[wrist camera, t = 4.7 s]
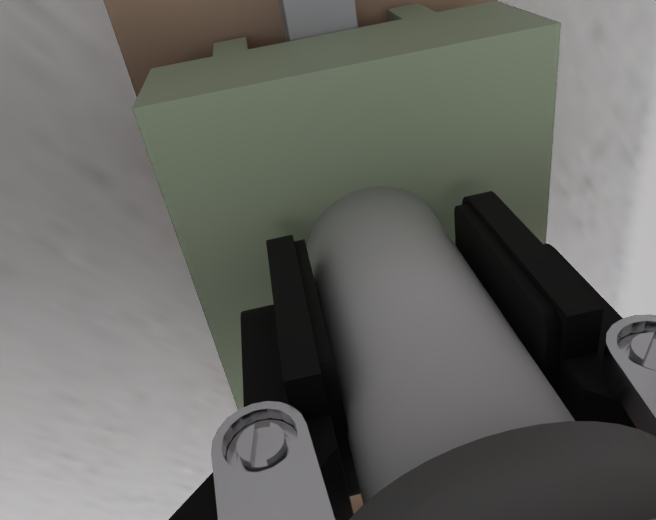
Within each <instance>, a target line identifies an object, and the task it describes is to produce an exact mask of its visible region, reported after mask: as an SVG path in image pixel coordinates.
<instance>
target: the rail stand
mask: <svg viewBox="0 0 656 520" xmlns="http://www.w3.org/2000/svg"><path fill="white" fill-rule="evenodd" d="M491 1H497V0H104V3H105V6H106V9H107V12H108V14H109V17H110V20H111V23H112V26H113V29H114V32H115V35H116V38H117V41H118V44H119V46H120V49H121V52H122V55H123V58H124V61H125V64H126V67H127V70H128V73H129V76H130V78H131V81H132V84H133V87H134V90H135V93H136V96H137V97H138V95H139V93H140V91H141V89H142V86H143V84H144V82H145V80H146V78H147V76H148V74H149V71H150V69H151V68H156V67H162V66H167V65H172V64H177V63H182V62H187V61H192V60H197V59H202V58H207V57H212V56H213V47H214V43H217V42H222V41H227V40H232V39H237V38H242V37H246V41H247V45H248V49H253V48H258V47H263V46H268V45H273V44H278V43H283V42H288V41H294V40H299V39H304V38H309V37H314V36H319V35H324V34H329V33H334V32H339V31H344V30H349V29H354V28H360V27H365V26H370V25H375V24H380V23H385V22H388V16H387V9H390V8H395V7H400V6H406V5H411V4H416V3H419V4H421V5H423V6H425V7H427V8H429V9H431V10H433V11H435V12H441V11H446V10H451V9H456V8H461V7H466V6H471V5H476V4H481V3H486V2H491ZM350 500H351V504H352V509H353V514H355V513H356V512H357V511H358V510H359V509H360V507H361V506H363V501H362V497H361V494H358V495H354V496H350Z"/></svg>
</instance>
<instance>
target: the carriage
mask: <svg viewBox="0 0 656 520" xmlns="http://www.w3.org/2000/svg"><path fill="white" fill-rule="evenodd" d="M387 16H388V22H385V23H380V24H375V25H370V26H365V27H360V28H354V29H349V30H344V31H339V32H334V33H329V34H324V35H319V36H314V37H309V38H304V39H299V40H294V41H288V42H283V43H278V44H273V45H268V46H263V47H258V48H253V49H248V45H247V41H246V37H242V38H237V39H232V40H227V41H222V42H217V43H214V47H213V56H212V57H207V58H202V59H197V60H192V61H187V62H182V63H177V64H172V65H167V66H162V67H156V68H151V69H150V71H149V74H148V76H147V78H146V80H145V82H144V84H143V86H142V89H141V91H140V93H139V95H138V97H137V99H136V101H135V103H134V106H133V108H132V110H133V113H134V116H135V118H136V121H137V124H138V127H139V130H140V133H141V135H142V138H143V141H144V144H145V147H146V150H147V152H148V155H149V158H150V161H151V164H152V167H153V169H154V172H155V175H156V178H157V181H158V184H159V186H160V189H161V192H162V195H163V198H164V201H165V203H166V206H167V209H168V212H169V215H170V218H171V221H172V223H173V226H174V229H175V232H176V235H177V238H178V240H179V243H180V246H181V249H182V252H183V255H184V257H185V260H186V263H187V266H188V269H189V272H190V274H191V277H192V280H193V283H194V286H195V289H196V291H197V294H198V297H199V300H200V303H201V306H202V308H203V311H204V314H205V317H206V320H207V323H208V325H209V328H210V331H211V334H212V337H213V340H214V343H215V345H216V348H217V351H218V354H219V357H220V360H221V362H222V365H223V368H224V371H225V374H226V377H227V379H228V382H229V385H230V388H231V391H232V394H233V396H234V399H235V402H236V405H237V408H238V410H239V409H242V408H244V401H243V374H242V347H241V319H240V318H241V312H242V311H246V310H250V309H255V308H259V307H264V306H268V305H273V304H274V303H273V295H272V286H271V278H270V270H269V262H268V254H267V245H266V240H270V239H274V238H279V237H283V236H288V235H293V239H294V241H298V240H303V239H305V243H306V247H307V252H308V256H309V260H310V264H311V268H312V273H313V277H314V281H315V285H316V289H317V293H318V298H319V302H320V306H321V310H322V314H323V319H324V323H325V327H326V331H327V335H328V339H329V344H330V348H331V352H332V356H333V360H334V365H335V369H336V374H337V378H338V383H339V388H340V392H341V397H342V402H343V407H344V411H345V416H346V421H347V426H348V430H347V432H348V441H349V445H350V449H351V454H352V458H353V462H354V467H355V471H356V475H357V480H358V484H359V488H360V493H361V497H362V501H363V506H361V507H360V509H359V510H358V511H357V512H356V513H355V514H354V515H353V516H352V517H351V518H350V519H349V520H651V519H655V518H656V436H654V435H651V434H649V433H647V432H644V431H642V430H640V429H636V428H632V427H628V426H624V425H620V424H614V423H605V422H597V421H575V420H574V418H573V417H572V415H571V414H570V412H569V411H568V409H567V408H566V407H565V405H564V404H563V402H562V401H561V399H560V398H559V396H558V395H557V393H556V392H555V390H554V389H553V387H552V386H551V385H550V383H549V382H548V380H547V379H546V377H545V376H544V374H543V373H542V371H541V370H540V368H539V367H538V366H537V364H536V363H535V361H534V360H533V358H532V357H531V355H530V354H529V352H528V351H527V349H526V348H525V346H524V345H523V344H522V342H521V341H520V339H519V338H518V336H517V335H516V333H515V332H514V330H513V329H512V327H511V326H510V325H509V323H508V322H507V320H506V319H505V317H504V316H503V314H502V313H501V311H500V310H499V308H498V307H497V305H496V304H495V303H494V301H493V300H492V298H491V297H490V295H489V294H488V292H487V291H486V289H485V288H484V286H483V285H482V283H481V282H480V281H479V279H478V278H477V276H476V275H475V273H474V272H473V270H472V269H471V267H470V266H469V264H468V263H467V262H466V260H465V259H464V257H463V256H462V254H461V253H460V251H459V250H458V248H457V247H456V245H455V222H454V209H455V207H456V206H458V205H462V201H463V198H464V197H466V196H471V195H475V194H480V193H484V192H489V191H493V192H494V193H495V194H496V195H497V196H498V197H499V198H500V199H501V200H502V201H503V202H504V203H505V204H506V205H507V207H508V208H509V209H510V210H511V211H512V212H513V213H514V214H515V215H516V216H517V217H518V218H519V219H520V220H521V221H522V222H523V223H524V224H525V226H526V227H527V228H528V229H529V230H530V231H531V232H532V233H533V234H534V235H535V236H536V237H537V238H538V239H539V240H540V241H541V242H542V244H546V229H547V215H548V200H549V186H550V171H551V157H552V143H553V128H554V114H555V99H556V85H557V70H558V56H559V41H560V27H561V23H560V22H557V21H554V20H551V19H548V18H545V17H542V16H539V15H536V14H533V13H530V12H527V11H524V10H521V9H518V8H516V7H513V6H510V5H507V4H504V3H501V2H498V1H491V2H486V3H481V4H476V5H471V6H466V7H461V8H456V9H451V10H446V11H441V12H435V11H433V10H431V9H429V8H427V7H425V6H423V5H421V4H419V3H416V4H411V5H406V6H400V7H395V8H390V9H387Z"/></svg>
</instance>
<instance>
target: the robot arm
mask: <svg viewBox="0 0 656 520" xmlns="http://www.w3.org/2000/svg"><path fill="white" fill-rule="evenodd" d="M454 222H455V245H456V247H457V248H458V250H459V251H460V253H461V254H462V256H463V257H464V259H465V260H466V262H467V263H468V264H469V266H470V267H471V269H472V270H473V272H474V273H475V275H476V276H477V278H478V279H479V281H480V282H481V283H482V285H483V286H484V288H485V289H486V291H487V292H488V294H489V295H490V297H491V298H492V300H493V301H494V303H495V304H496V305H497V307H498V308H499V310H500V311H501V313H502V314H503V316H504V317H505V319H506V320H507V322H508V323H509V325H510V326H511V327H512V329H513V330H514V332H515V333H516V335H517V336H518V338H519V339H520V341H521V342H522V344H523V345H524V346H525V348H526V349H527V351H528V352H529V354H530V355H531V357H532V358H533V360H534V361H535V363H536V364H537V366H538V367H539V368H540V370H541V371H542V373H543V374H544V376H545V377H546V379H547V380H548V382H549V383H550V385H551V386H552V387H553V389H554V390H555V392H556V393H557V395H558V396H559V398H560V399H561V401H562V402H563V404H564V405H565V407H566V408H567V409H568V411H569V412H570V414H571V415H572V417H573V418H574V420H575V421H597V422H605V423H614V424H620V425H624V426H628V427H632V428H636V429H640V430H642V431H644V432H647V433H649V434H651V435H654V436H656V316H655V315H634V316H631V317H627V318H622V317H621V316H620V315H619V314H618V313H617V312H616V311H615V310H614V309H613V308H612V307H611V306H610V305H609V304H608V303H607V302H606V301H605V300H604V299H603V298H602V297H601V296H600V295H599V294H598V292H597V291H596V290H595V289H594V288H593V287H592V286H591V285H590V284H589V283H588V282H587V281H586V280H585V279H584V278H583V277H582V276H581V275H580V274H579V273H578V272H577V271H576V270H575V269H574V268H573V267H572V266H571V265H570V264H569V263H568V261H567V260H566V259H565V258H564V257H563V256H562V255H561V254H560V253H559V252H558V251H557V250H556V249H555V248H554V247H552V246H551V245H550V244H542V242H541V241H540V240H539V239H538V238H537V237H536V236H535V235H534V234H533V233H532V232H531V231H530V230H529V229H528V228H527V227H526V226H525V224H524V223H523V222H522V221H521V220H520V219H519V218H518V217H517V216H516V215H515V214H514V213H513V212H512V211H511V210H510V209H509V208H508V207H507V205H506V204H505V203H504V202H503V201H502V200H501V199H500V198H499V197H498V196H497V195H496V194H495V193H494V192H493V191H489V192H484V193H480V194H475V195H471V196H466V197H464V198H463V201H462V205H458V206H456V207H455V209H454ZM266 245H267V254H268V262H269V270H270V278H271V286H272V295H273V303H274V304H273V305H268V306H264V307H259V308H255V309H250V310H246V311H242V312H241V318H240V319H241V347H242V374H243V401H244V408H242V409H239V410H238V411H236V412H235V413H234V414H232V415H231V416H230V417H228V418H227V419H226V420H225V421H224V423H223V424H222V425H221V426H220V427H219V429H218V430H217V432H216V435H215V437H214V439H213V441H212V452H211V456H212V466H213V473H212V474H211V475H210V476H209V477H208V478H207V479H206V480H205V481H204V482H203V483H202V484H201V486H200V487H199V488H198V489H197V490H196V491H195V492H194V493H193V494H192V495H191V496H190V497H189V498H188V499H187V500H186V502H185V503H184V504H183V505H182V506H181V507H180V508H179V509H178V510H177V511H176V512H175V513H174V514H173V515H172V517H171V518H170V519H169V520H349V519H350V518H351V517H352V516H353V515H354V514H353V509H352V504H351V500H350V496H354V495H358V494H361V493H360V488H359V484H358V480H357V475H356V471H355V467H354V462H353V458H352V454H351V449H350V445H349V441H348V432H347V430H348V426H347V421H346V416H345V411H344V407H343V402H342V397H341V392H340V388H339V383H338V378H337V374H336V369H335V365H334V360H333V356H332V352H331V348H330V344H329V339H328V335H327V331H326V327H325V323H324V319H323V314H322V310H321V306H320V302H319V298H318V293H317V289H316V285H315V281H314V277H313V273H312V268H311V264H310V260H309V256H308V252H307V247H306V243H305V239H303V240H298V241H294V239H293V235H288V236H283V237H279V238H274V239H270V240H266ZM651 520H656V518H655V519H651Z"/></svg>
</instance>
